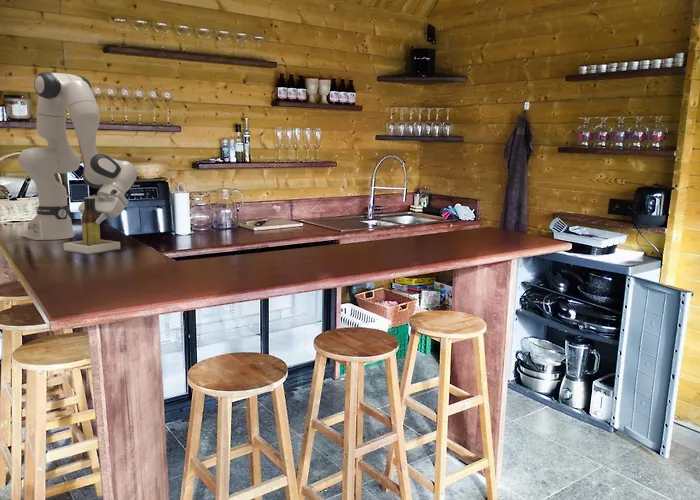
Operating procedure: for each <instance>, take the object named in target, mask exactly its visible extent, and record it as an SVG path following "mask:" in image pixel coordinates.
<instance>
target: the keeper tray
mask: <svg viewBox="0 0 700 500" xmlns="http://www.w3.org/2000/svg"><path fill="white" fill-rule="evenodd" d="M62 245H63V251H64V252H69V253H75V254H81V255H89V256H90V255H94V254H101V253H108V252H115V251H120V250H121V241H115V240H114V241H113V240H107V239H106V240H105V239H100V245H93V246H85V245H83V240H77V241H69V242H64V243H62Z"/></svg>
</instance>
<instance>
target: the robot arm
mask: <svg viewBox="0 0 700 500" xmlns="http://www.w3.org/2000/svg"><path fill="white" fill-rule="evenodd" d="M33 82H34V83H33V87H34V90H35V92H36V94H37V95H38V97H37V99H38V100H37V105H36V133H37V134H38V136H40V137H42V138H43V139H44V140H45V141H46V143H47V147H31V148H26V149H23V150H22V151H21V152H20V153H19V155H18V163H19V166H20V168H21V170H22V171H23V172H25V173H27V174H28V176H30V178H31V179H32V181H33V182H34V184H35V187H36V190H37V196H38V197H37V198H38V206H37V207H35V210H36V215H35V216H34V217H33V218H32V219H31V220H30V221H29V222H28V224H27V233H25V234H24V233H23V234H21V237H22V236H23V237H22V238H25V237H26V238H25V239H29V240H34V241H43V240H45V241H50V240H51V241H53V240H55V241H56V240H64V239H71V238H74V237H76V233H75V232H74V228H73V223H72V218H71V217H70V215H69V213H70V208H69V205H68V196H67V195H68V194H67V193H68V191H67V188H66V187H65V185H64V184H62V183H60V182H59V181H57V179H56V177H55V174H68V173H72V172H73V173H74V172H76V171H77V170H79V168H80V166H81V158H82V161H83V168H82V169H83V170H82V180H83V182H84V183H85V184H86V185H87V186H88V187H90V188H93V189H99V190H98V191H97V193H96V194H93V195H90V196H88V197H93V198H95V209H96V212H97V215H98V219H97V218H96V219H95V221H94V223H95V224H97V225H99V224H101V223H102V222H103V221H105V220H107V219H108V218H113V219H115V218H117V217H119V216H120V215H121V213H122V212H123V211H124V209H125V208H126V207H127V206H128V205H129V203H130V201H129V200H128V199H127V198H126V196H125V195H126V193H127V191H130V189H131V188H132V186H133V185H134V183H135V182H136V180H137V178H138V170H137V168H136V166H134V164H132V163H131V162H129V161H128V160H120V159H115V158H112V157H110V155H107V154H105V153H99V152H98V148H97V143H96V142H97V139H96V137H97V132H98V129H99V125H100V122H101V117H100V109H99V106H98V102H97V100H96V98H95V95H94V92H93V90H92V85H91V83H90V80H89V79H88V78H86V77H84V76H81V75H75V74H70V73H66V72H63V73H62V72H61V73H60V72H50V71H43V72H39V73H37V75H36V76H35V78H34V81H33ZM67 111H68V113H69V116H70V120H71V122H72V124H73V128H74V131H75V134H76V137H77V140H78V141H77V142H78V145H79V149H80V154H81V155H79V154H78V152H77V151H76V150H75V149H74V148H73V147H72V145H70V142H69V140H68V137H67ZM80 156H81V158H80ZM84 210H85V204H84V200H83V201H82V202H81V204H79V206H78V211H79V212H80V213H81V215H82V214H83V212H84ZM80 222H81V223H82V218H81V219H80Z"/></svg>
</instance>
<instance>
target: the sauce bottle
mask: <svg viewBox="0 0 700 500" xmlns="http://www.w3.org/2000/svg"><path fill="white" fill-rule="evenodd" d="M83 201H84V204H85V210H84V212H83V214H82V213H81V219H82V222H81V229H82V230H81V231H82V233H81V235H82V241H83V245H85V246H93V245H100V240H101V229H100V227H101V225H100V224H101V223H100V224H99V225H97V224H95V223H94V221H95V219H96V218H97V219H98V218H99V216H98V215H97V212H96V209H95V198H93V197H89V196H87V197H83Z"/></svg>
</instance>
